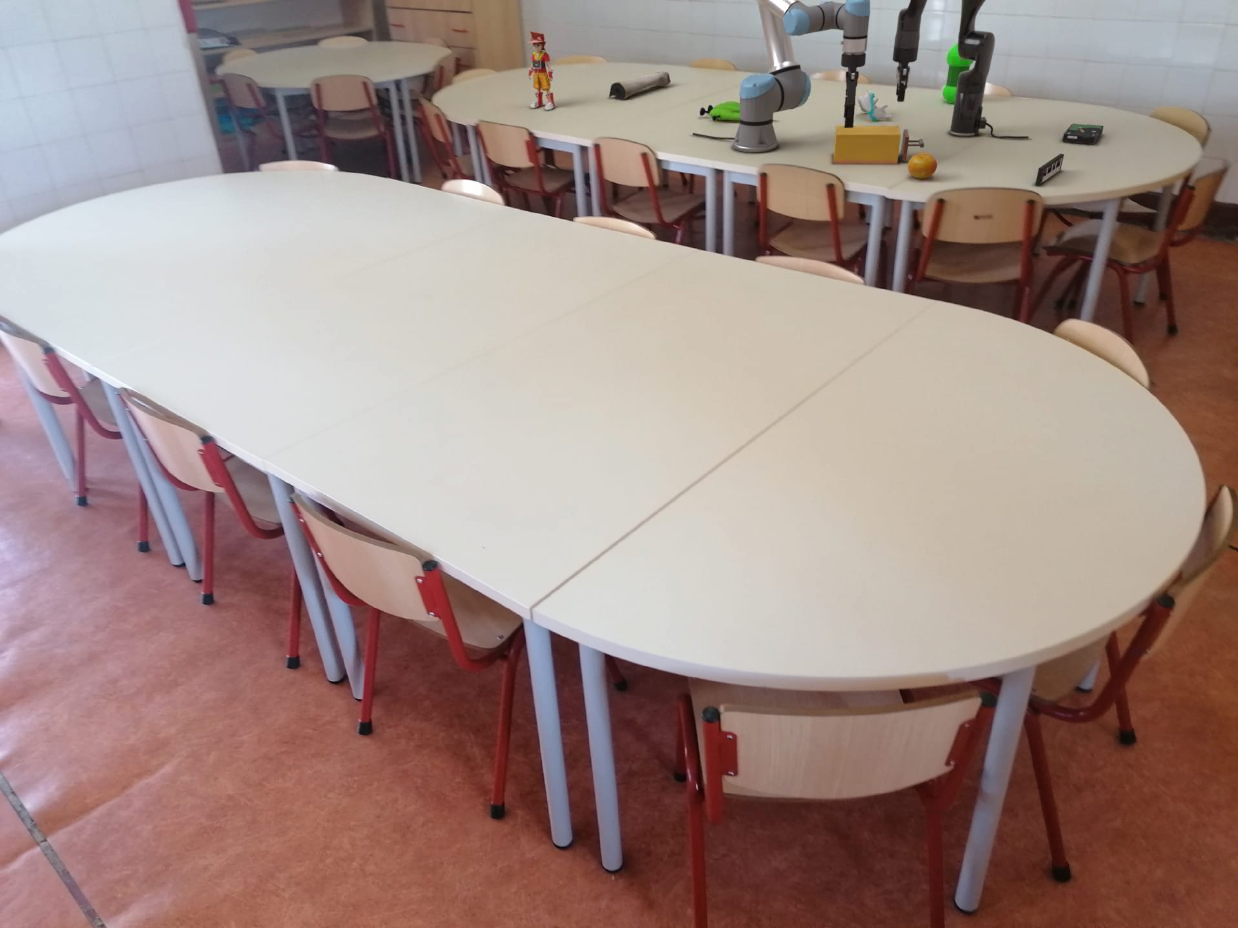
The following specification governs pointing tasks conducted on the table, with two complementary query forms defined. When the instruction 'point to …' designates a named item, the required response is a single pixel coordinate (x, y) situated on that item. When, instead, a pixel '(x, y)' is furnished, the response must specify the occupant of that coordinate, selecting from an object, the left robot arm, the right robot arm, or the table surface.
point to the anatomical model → (872, 107)
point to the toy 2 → (723, 111)
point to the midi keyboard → (1049, 169)
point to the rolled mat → (638, 84)
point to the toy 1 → (541, 71)
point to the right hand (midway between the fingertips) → (899, 98)
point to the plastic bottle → (954, 73)
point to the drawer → (906, 143)
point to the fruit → (922, 165)
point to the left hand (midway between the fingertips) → (848, 122)
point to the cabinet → (867, 144)
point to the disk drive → (1083, 133)
